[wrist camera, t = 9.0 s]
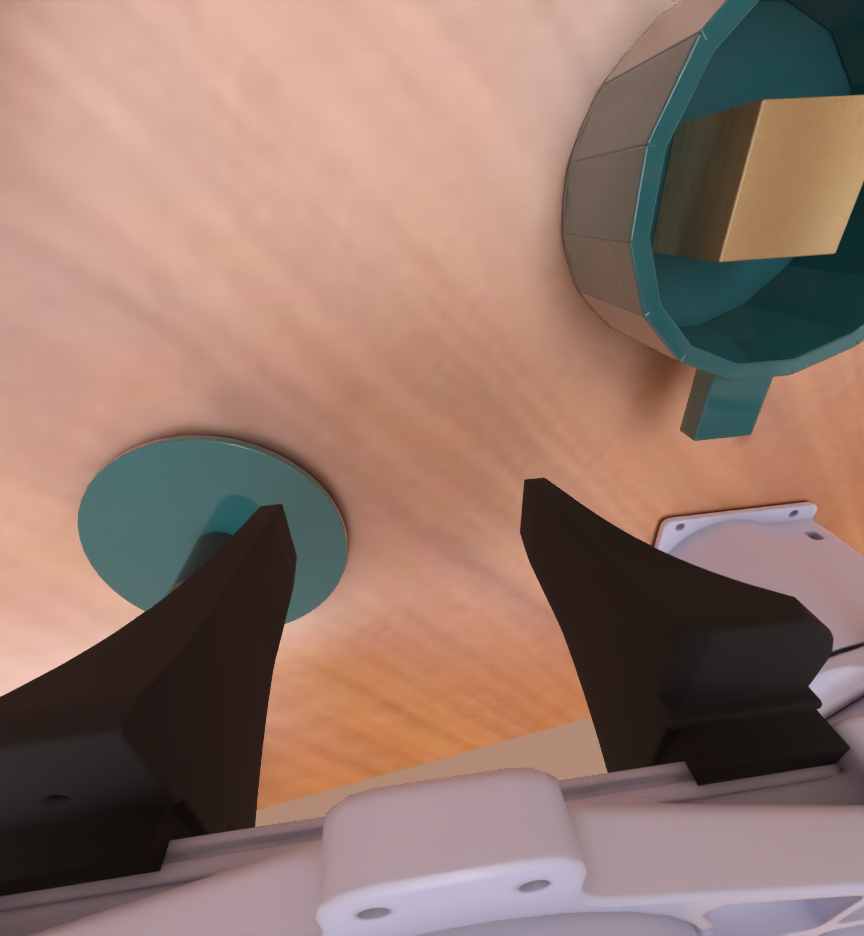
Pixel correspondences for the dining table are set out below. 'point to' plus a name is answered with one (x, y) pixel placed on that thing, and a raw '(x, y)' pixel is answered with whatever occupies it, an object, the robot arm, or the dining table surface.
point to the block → (763, 180)
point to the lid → (203, 516)
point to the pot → (641, 186)
